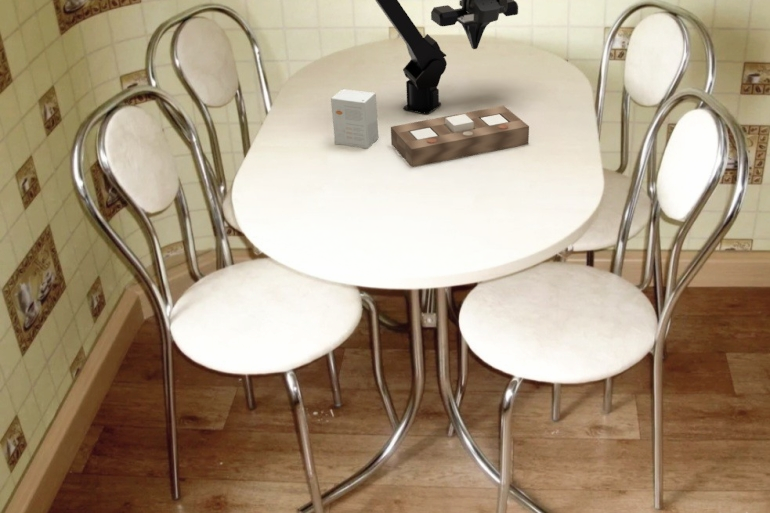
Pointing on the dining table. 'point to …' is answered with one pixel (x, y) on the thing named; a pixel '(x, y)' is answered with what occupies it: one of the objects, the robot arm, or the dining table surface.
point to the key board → (459, 137)
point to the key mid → (459, 123)
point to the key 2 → (494, 120)
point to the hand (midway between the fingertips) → (474, 48)
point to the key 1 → (423, 134)
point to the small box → (355, 118)
